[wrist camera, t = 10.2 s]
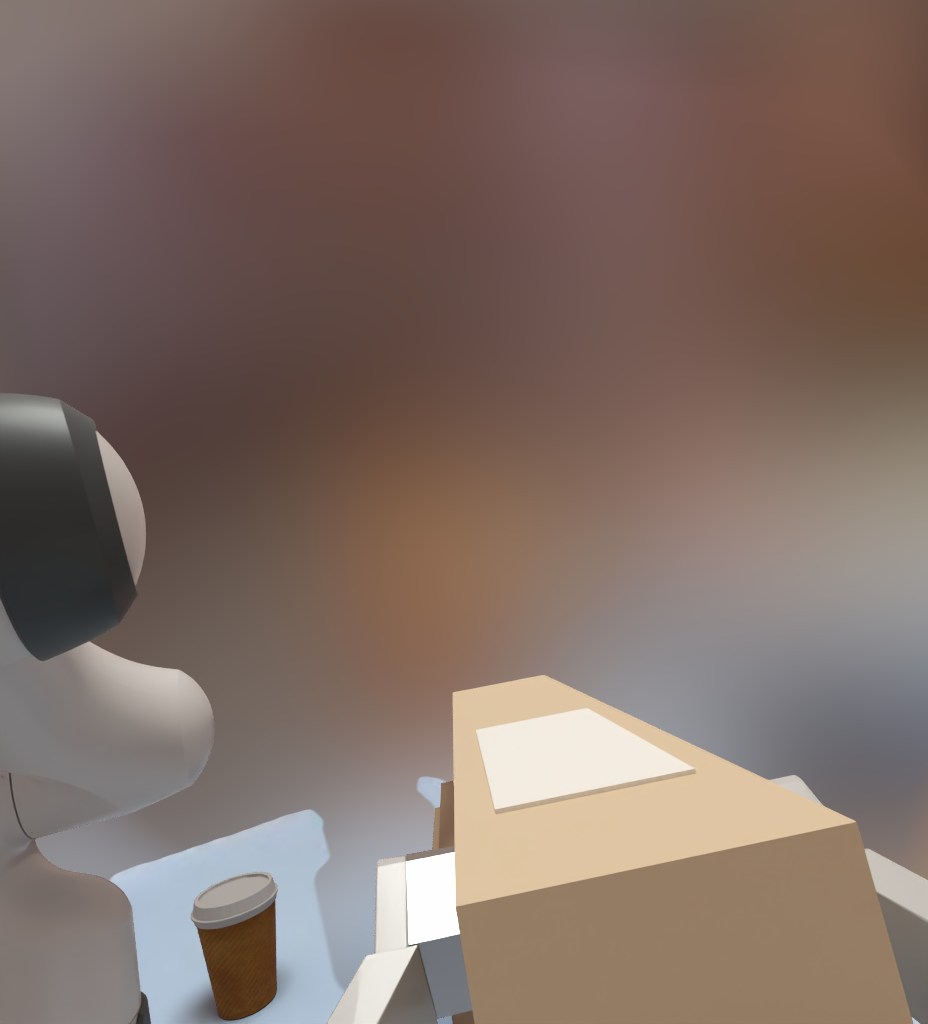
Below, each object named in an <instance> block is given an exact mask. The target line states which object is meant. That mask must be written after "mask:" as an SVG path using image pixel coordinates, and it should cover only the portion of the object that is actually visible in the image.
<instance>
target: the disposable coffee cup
mask: <svg viewBox="0 0 928 1024" xmlns="http://www.w3.org/2000/svg"><path fill="white" fill-rule="evenodd" d="M277 891H278V886H277V884H276V883H274V881H273V878H272V876H271V874H269V873H265V872H253V873H247V874H242V875H238V876H235V877H232V878H229V879H226V880H224V881H221V882H219V883H217V884H215V885H213V886H211V887H209V888H208V889H206V890H204V891H203V892H202V893H200V894H199V895H198V896H197V897H196V899H195V900H194V907H193V911H192V913H191V920H192V921H193V922H194V924H195V926H196V927H197V929H198V934H199V938H200V941H201V945H202V949H203V954H204V957H205V961H206V965H207V969H208V973H209V978H210V981H211V985H212V989H213V994H214V997H215V1001H216V1005H217V1010H218V1014H219V1016H220V1017H221V1018H223V1019H228V1020H229V1019H239V1018H242V1017H245V1016H248V1015H251V1014H253V1013H255V1012H257V1011H258V1010H260V1009H262V1008H263V1007H265V1006H266V1005H267V1004H268V1003H269V1002H270V1001H271V1000H272V999H273V998H274V996H275V994H276V990H277V982H276V918H275V899H276V894H277Z"/></svg>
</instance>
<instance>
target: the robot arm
mask: <svg viewBox="0 0 928 1024" xmlns="http://www.w3.org/2000/svg"><path fill="white" fill-rule="evenodd" d="M145 542H146V528H145V517H144V511H143V506H142V502H141V499H140V496H139V493H138V490H137V487H136V485H135V483H134V480H133V478H132V476H131V474H130V472H129V471H128V469H127V467H126V466H125V464H124V462H123V461H122V459H121V458H120V457H119V455H118V454H117V453H116V452H115V450H114V449H113V448H112V446H111V445H110V444H109V443H108V442H107V441H106V440H105V439H104V438H103V437H102V436H101V435H100V434H99V433H98V432H97V429H96V426H95V423H94V421H93V420H92V419H90V418H89V417H87V416H85V415H84V414H82V413H80V412H79V411H77V410H76V409H74V408H72V407H71V406H69V405H67V404H66V403H64V402H62V401H61V400H59V399H55V398H48V397H43V396H34V395H25V394H10V393H9V394H8V393H0V1024H151V1021H150V1014H149V1007H148V1000H147V997H146V995H145V994H144V993H143V992H141V990H140V980H139V971H138V961H137V951H136V942H135V932H134V922H133V912H132V906H131V904H130V901H129V900H128V898H127V896H126V895H125V893H124V892H123V891H122V890H121V889H120V888H119V887H118V886H117V885H115V884H114V883H112V882H110V881H109V880H107V879H105V878H102V877H99V876H95V875H91V874H85V873H77V872H71V871H66V870H63V869H61V868H59V867H57V866H55V865H53V864H52V863H51V862H49V861H48V860H47V859H46V858H45V857H44V856H43V855H42V854H41V852H40V851H39V849H38V847H37V845H36V842H35V839H36V838H39V837H43V836H47V835H51V834H54V833H58V832H61V831H65V830H69V829H73V828H77V827H80V826H84V825H88V824H92V823H95V822H99V821H103V820H106V819H110V818H114V817H118V816H122V815H125V814H129V813H132V812H134V811H137V810H139V809H141V808H144V807H146V806H148V805H150V804H152V803H155V802H157V801H159V800H162V799H164V798H166V797H168V796H170V795H172V794H174V793H176V792H178V791H181V790H183V789H185V788H187V787H189V786H191V785H192V784H193V783H194V782H195V780H196V779H197V778H198V776H199V775H200V773H201V771H202V770H203V768H204V766H205V764H206V762H207V760H208V758H209V755H210V752H211V748H212V745H213V739H214V718H213V713H212V709H211V706H210V703H209V701H208V699H207V697H206V695H205V694H204V692H203V690H202V689H201V688H200V686H199V685H198V684H197V683H196V682H195V681H194V680H193V679H192V678H191V677H189V676H188V675H187V674H185V673H184V672H182V671H181V670H178V669H168V668H160V667H153V666H148V665H143V664H139V663H136V662H133V661H129V660H127V659H124V658H121V657H119V656H116V655H114V654H112V653H110V652H108V651H105V650H103V649H102V648H100V647H98V646H96V645H94V644H93V643H91V642H89V641H91V640H93V639H94V638H96V637H98V636H100V635H102V634H104V633H106V632H107V631H109V630H111V629H112V628H114V627H116V626H117V625H119V624H120V622H121V621H122V619H123V618H124V616H125V614H126V613H127V611H128V610H129V608H130V607H131V605H132V604H133V602H134V601H135V599H136V598H137V596H138V591H137V586H136V583H137V580H138V577H139V574H140V571H141V568H142V563H143V558H144V553H145ZM769 781H771V782H773V783H775V784H777V785H779V786H782V787H784V788H786V789H788V790H790V791H792V792H794V793H796V794H799V795H801V796H803V797H805V798H807V799H809V800H811V801H813V802H816V803H818V804H820V805H822V804H821V803H820V802H819V800H818V799H817V798H816V797H815V795H814V794H813V793H812V792H811V790H810V789H809V788H808V787H807V786H806V785H805V783H804V782H803V781H802V780H801V779H800V778H799V777H797V776H795V775H792V776H787V777H782V778H778V779H773V780H769ZM822 806H823V805H822ZM864 850H865V853H866V857H867V860H868V864H869V867H870V871H871V875H872V878H873V882H874V885H875V889H876V892H877V896H878V900H879V903H880V907H881V910H882V914H883V917H884V921H885V925H886V928H887V932H888V935H889V939H890V942H891V946H892V950H893V953H894V957H895V960H896V964H897V967H898V971H899V975H900V978H901V982H902V985H903V989H904V993H905V996H906V1000H907V1003H908V1007H909V1010H910V1014H911V1017H913V1018H914V1019H915V1020H917V1021H918V1022H919V1023H920V1024H928V880H926V879H924V878H922V877H921V876H919V875H917V874H915V873H913V872H911V871H909V870H907V869H906V868H903V867H902V866H900V865H898V864H896V863H894V862H892V861H890V860H889V859H887V858H885V857H883V856H881V855H879V854H877V853H875V852H873V851H872V850H870V849H864ZM375 900H376V902H375V946H374V947H375V948H374V954H371V955H367V956H365V958H364V960H363V961H362V963H361V965H360V966H359V968H358V970H357V972H356V973H355V975H354V977H353V979H352V980H351V982H350V984H349V985H348V987H347V989H346V991H345V992H344V994H343V996H342V998H341V999H340V1001H339V1003H338V1004H337V1006H336V1008H335V1010H334V1011H333V1013H332V1015H331V1017H330V1018H329V1020H328V1022H327V1023H326V1024H438V1022H437V1019H439V1018H444V1017H447V1016H451V1015H455V1014H459V1013H463V1012H467V1011H471V1010H472V1005H471V999H470V993H469V987H468V981H467V975H466V969H465V963H464V957H463V951H462V945H461V939H460V933H459V927H458V921H457V915H456V909H455V846H452V847H446V848H441V849H435V850H429V851H424V852H418V853H412V854H407V855H403V856H398V857H392V858H387V859H382V860H378V864H377V868H376V899H375Z"/></svg>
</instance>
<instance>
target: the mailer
mask: <svg viewBox="0 0 928 1024" xmlns="http://www.w3.org/2000/svg"><path fill="white" fill-rule="evenodd" d="M453 741H454V742H453V747H454V750H453V751H454V842H455V909H456V915H457V921H458V927H459V933H460V939H461V945H462V951H463V957H464V963H465V969H466V975H467V981H468V987H469V993H470V999H471V1005H472V1011H473V1017H474V1023H475V1024H913V1021H912V1018H911V1014H910V1010H909V1007H908V1003H907V1000H906V996H905V993H904V989H903V985H902V982H901V978H900V975H899V971H898V967H897V964H896V960H895V957H894V953H893V950H892V946H891V942H890V939H889V935H888V932H887V928H886V925H885V921H884V917H883V914H882V910H881V907H880V903H879V900H878V896H877V892H876V889H875V885H874V882H873V878H872V875H871V871H870V867H869V864H868V860H867V857H866V853H865V850H864V846H863V842H862V839H861V835H860V832H859V828H858V825H857V822H856V821H854V820H852V819H849V818H847V817H845V816H843V815H841V814H839V813H837V812H835V811H833V810H830V809H828V808H826V807H824V806H822V805H820V804H818V803H816V802H813V801H811V800H809V799H807V798H805V797H803V796H801V795H799V794H796V793H794V792H792V791H790V790H788V789H786V788H784V787H782V786H779V785H777V784H775V783H773V782H771V781H769V780H767V779H764V778H762V777H760V776H758V775H756V774H754V773H752V772H750V771H747V770H745V769H743V768H741V767H739V766H737V765H735V764H733V763H730V762H728V761H726V760H724V759H722V758H720V757H718V756H716V755H713V754H711V753H709V752H707V751H705V750H703V749H701V748H699V747H696V746H694V745H692V744H690V743H688V742H686V741H684V740H681V739H679V738H677V737H675V736H673V735H671V734H669V733H667V732H664V731H662V730H660V729H658V728H656V727H654V726H652V725H649V724H647V723H645V722H643V721H641V720H639V719H636V718H635V717H633V716H630V715H628V714H626V713H624V712H622V711H620V710H618V709H615V708H613V707H611V706H609V705H607V704H605V703H603V702H601V701H598V700H596V699H594V698H592V697H590V696H588V695H586V694H584V693H581V692H579V691H577V690H575V689H573V688H571V687H569V686H567V685H564V684H562V683H560V682H558V681H556V680H554V679H552V678H550V677H547V676H545V675H541V676H536V677H531V678H525V679H520V680H516V681H510V682H505V683H500V684H495V685H490V686H484V687H479V688H474V689H469V690H463V691H459V692H453Z"/></svg>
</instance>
